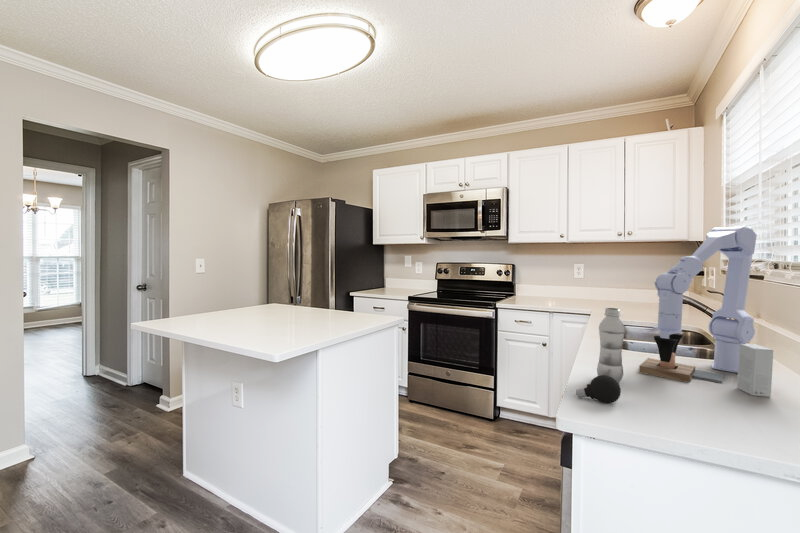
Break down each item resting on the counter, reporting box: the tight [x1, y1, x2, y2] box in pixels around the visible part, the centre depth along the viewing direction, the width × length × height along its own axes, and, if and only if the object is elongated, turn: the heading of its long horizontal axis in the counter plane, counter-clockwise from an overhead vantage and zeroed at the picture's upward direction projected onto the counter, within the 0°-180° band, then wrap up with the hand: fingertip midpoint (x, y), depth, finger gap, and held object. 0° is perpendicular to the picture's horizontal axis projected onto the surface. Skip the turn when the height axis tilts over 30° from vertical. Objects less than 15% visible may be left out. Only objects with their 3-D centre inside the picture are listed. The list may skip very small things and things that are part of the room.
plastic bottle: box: [596, 307, 626, 383], centre depth 106 cm, size 6×7×20 cm
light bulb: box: [574, 375, 622, 404], centre depth 91 cm, size 6×6×10 cm
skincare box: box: [736, 343, 774, 398], centre depth 99 cm, size 6×4×12 cm
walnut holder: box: [638, 357, 696, 383], centre depth 115 cm, size 12×12×2 cm
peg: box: [659, 352, 676, 369], centre depth 114 cm, size 4×4×6 cm
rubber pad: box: [692, 368, 725, 384], centre depth 111 cm, size 8×7×1 cm
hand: (667, 359), depth 114 cm, fingers open, 7 cm apart
